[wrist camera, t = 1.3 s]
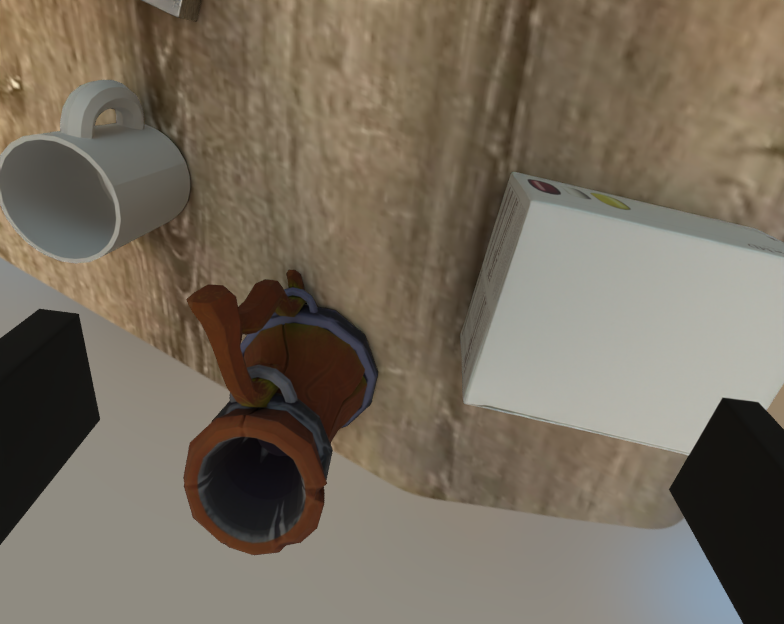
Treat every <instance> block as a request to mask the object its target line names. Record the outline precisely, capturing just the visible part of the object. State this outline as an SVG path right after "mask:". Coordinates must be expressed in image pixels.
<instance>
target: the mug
mask: <svg viewBox="0 0 784 624" xmlns="http://www.w3.org/2000/svg"><path fill="white" fill-rule="evenodd" d="M286 274H287V279H288V286H289V288H288V289H283V287H282V286H281V285H280V283H279V282H278V281H275V280H266V279H265V280H263V281H260V282H258V283H256V284H255V285H254V287H253V288H252V290H251V292H250V293H249V295H248V297H247V298H246V300H245V301H244V302H243V303H242V304H241V305H240V306H239V307H238V305H237V299H236V296H235V295H233V294H232V293H231V292H230V291H229V290H228V289H227V288H226V287H224V286H223V285H207V286H205V287H203V288H201V289H200V290H198V291H196V292H194V293H193V294H192V295H191V296H190V297H188V298H187V299H186V300H187V302H188V304H189V306H190V308H191V310H192V312H193V313H194V314H195V316H196V317H197V318H198V320H199V321H200V322H201V324H202V326H203V328H204V330H205V332H206V334H207V336H208V338H209V341H210V343H211V346H212V348H213V351H214V354H215V356H216V359H217V362H218V365H219V368H220V371H221V373H222V376H223V379H224V381H225V384H226V386H227V388H228V390H229V391H230V401H229V402H228V403H227V405H226V406H225V407H224V408H223V409H222V410H221V411H220V413H219V414H218V415H217V416H216V417H215V418H214V419H213V420H212V422H211V424H210V425H209V426H208V427H206V428H205V429H204V430H203V431H202V432H201V433H200V434H199V435H198V436H197V437H196V438H194V440H193V441H191V442H190V445H189V450H188V456H187V461H186V467H185V472H184V488H185V491H186V495H187V498H188V502H189V505H190V509H191V512H192V516H193V518H194V519H195V520H196V521H198V523H200V524H201V525H202V526H203V527H204V528H205V529H206V530H208V531H209V532H210V533H211V534H212V535H213V536H214V537H215V538H216V539H218V540H219V541H220V542H221V543H223V544H225V545H227V546H228V547H230V548H233V549H236V550H239V551H242V552H245V553H248V554H251V555H260V554H269V553H277V552H280V551H281V550H282V549H283V548H284V547H285V546H286V545H290V544H295V543H301V542H302V541H303V540H304V539H305V538H306V537H308V536H309V535H310V534H311V533H312V532H313V531H314V530H315V529H317V527H318V523H319V520H320V516H321V513H322V510H323V506H324V486H325V485H326V484H327V482H326V480H327V475H328V470H329V465H330V460H331V456H332V451H333V450H332V447H331V444H330V443H331V441H332V440H333V438H334V436H335V435H336V433H337V431H338V430H339V429H340V428H343V427H346V426H348V425H349V424H350V423H351V422H352V421H353V420H354V419H355V418H357V417H358V416H359V415H360V414H361V413H362V412H363V411H364V410H365V409H366V408H367V407H368V406H370V404H371V402H372V398H373V394H374V389H375V385H376V381H377V376H378V370H377V368H376V365H375V362H374V359H373V356H372V353H371V350H370V348H369V345H368V342H367V339H366V336H365V335H364V334H363V333H362V332H361V331H360V330H358V329H357V328H356V327H355V326H354V325H352V324H351V323H350V322H349V321H347V320H346V319H345V318H344V317H343V316H341V315H340V314H339V313H338V312H337V311H335V310H331V309H326V308H321V307H317V305H316V303H315V301H314V299H313V297H312V296H311V295H310V294H309V293H307V292H306V291H305V289H304V285H303V282H302V278H301V274H300V273H298V272H297V271H296V270H288V272H287V273H286ZM305 302H307V304H308V305H305ZM242 334H248V335H247V336H246V337H245V339H244V340H243V342H242V343H241V338H242Z"/></svg>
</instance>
